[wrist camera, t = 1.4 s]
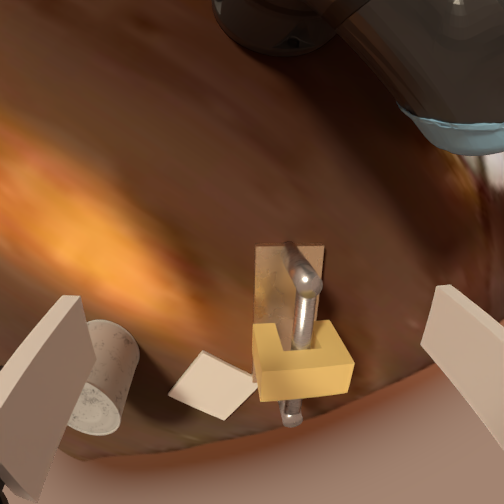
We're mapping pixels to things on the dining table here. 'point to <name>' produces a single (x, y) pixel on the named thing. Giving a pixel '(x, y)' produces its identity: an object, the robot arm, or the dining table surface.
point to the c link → (300, 364)
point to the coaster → (213, 386)
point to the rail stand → (288, 300)
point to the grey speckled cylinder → (106, 379)
